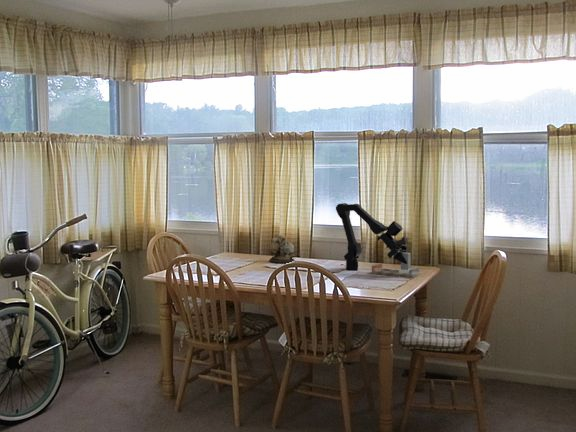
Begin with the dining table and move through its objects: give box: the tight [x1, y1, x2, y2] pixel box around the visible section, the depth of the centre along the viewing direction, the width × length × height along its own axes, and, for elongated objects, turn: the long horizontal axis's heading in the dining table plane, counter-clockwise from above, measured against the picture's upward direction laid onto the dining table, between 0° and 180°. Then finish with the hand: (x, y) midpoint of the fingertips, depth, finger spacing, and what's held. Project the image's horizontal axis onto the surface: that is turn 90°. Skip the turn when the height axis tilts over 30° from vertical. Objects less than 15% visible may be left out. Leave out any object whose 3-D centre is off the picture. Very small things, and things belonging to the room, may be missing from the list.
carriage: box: [398, 252, 412, 274], centre depth 327 cm, size 6×6×11 cm
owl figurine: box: [267, 234, 296, 265], centre depth 369 cm, size 18×12×17 cm, turn 73°
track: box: [371, 262, 420, 279], centre depth 330 cm, size 24×10×4 cm, turn 58°
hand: (408, 263), depth 326 cm, fingers closed on carriage, 4 cm apart
